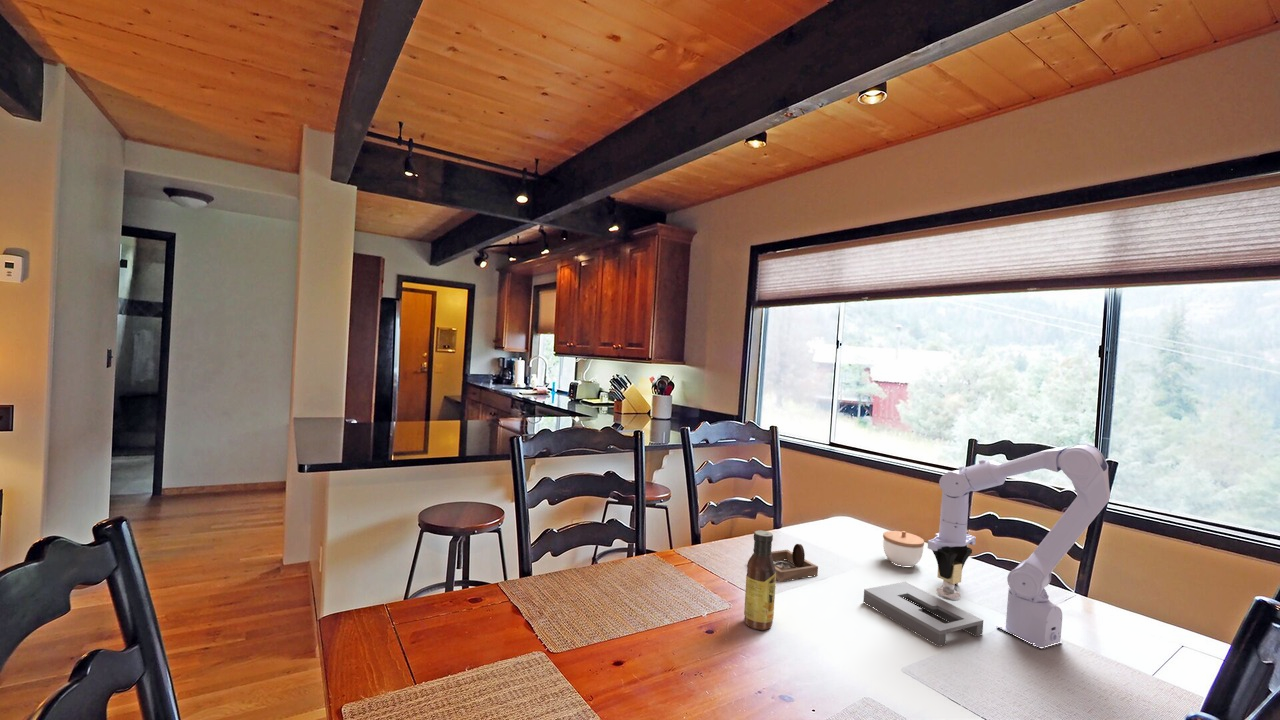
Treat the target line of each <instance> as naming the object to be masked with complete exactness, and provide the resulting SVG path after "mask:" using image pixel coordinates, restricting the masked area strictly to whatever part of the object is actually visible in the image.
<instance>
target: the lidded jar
mask: <svg viewBox="0 0 1280 720" xmlns="http://www.w3.org/2000/svg"><path fill="white" fill-rule="evenodd" d="M882 537H883V541H882V544H883V545H882V546H883V551H884V552H883V553H884V554H885V557H886V558H887V559H888V560H889V562H890V561H891V562H893V563H895V564H897V565H901V566H913V567H914V566H915V565H917V564H918V563H919V562H920V560H921V559H922V557H923V553H924V545H925V539H923V538H922V537H920V536H919V535H916V534H913V533H911V532H907V531H905V530H902V531H899V530H890V531H889V530H887V531H885V532H883V535H882ZM891 562H890V563H891Z"/></svg>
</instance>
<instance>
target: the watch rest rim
mask: <svg viewBox="0 0 1280 720" xmlns="http://www.w3.org/2000/svg"><path fill="white" fill-rule="evenodd" d="M771 552H772V553H771V554H772V558H773V561H775V562H781V561H780V560H782V561H785V560H784V559H787V560H789V561H791V562H792V563H791V562H790V563H791V564H793V559H792V553H793V551H791V550H789V549H782V550H775V551H771ZM752 555H753V553H752V554H751V556H752ZM787 560H786V561H787ZM789 561H788V562H789ZM775 569H776V581H778V582H780V583H782V582H788V581H787V580H789V581H793V580H792V579H795V580H798V579H797V578H801V579H803V578H802V577H807V578H809V577H808V576H813V577H815V576H814V575H817V576H818V572H819V571H818V570H819V566H818V565H816V564H814V563H812V562H811V561H809V560H807V559H806V558H805V559H804V563H803V565H802V567H800V568H793V569H787V570H780V569H779V568H777V567H775Z"/></svg>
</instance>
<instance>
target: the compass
mask: <svg viewBox="0 0 1280 720" xmlns="http://www.w3.org/2000/svg"><path fill="white" fill-rule="evenodd" d="M792 552H793V553H792V559H793V563H794V564H793V563H791V562H786V561H775V562H774V565H775V567H777V568H779V569H780V570H787V569H793V568H800V567H802V565H803V563H804V559H805V560H806V556H805V555H806V554H805V553H806V552H805V549H804V546H803V545H802V544H800V543H795V545H794V547H793V549H792Z"/></svg>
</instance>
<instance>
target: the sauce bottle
mask: <svg viewBox="0 0 1280 720" xmlns="http://www.w3.org/2000/svg"><path fill="white" fill-rule="evenodd" d="M753 540H754V542H753V553H752V554H753V555H752V554H751V556H750V557H749V559H748V560H747V567H746V568H747V569H746V571H747V572H746V575H745V576H746V577H745V592H744V593H745V594H744V595H745V596H744V610H743V611H744V612H743V614H744V619H743V620H744V621H743V622H744V623H745V624H746V625H747V626H748V627H749V628H751V629H754V630H760V631H765V630H768V629H771V628H772V626H773V623H774V614H775V612H774V611H775V598H776V596H775V595H776V583H777V582H776V581H777V579H776V569H775V565H774V563H775V562H773V558H772V554H771V553H772V552H773V551H772V543H773V540H774V534H773V533H772V532H769V531H767V530H760V529H759V530H755V531H754V533H753Z"/></svg>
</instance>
